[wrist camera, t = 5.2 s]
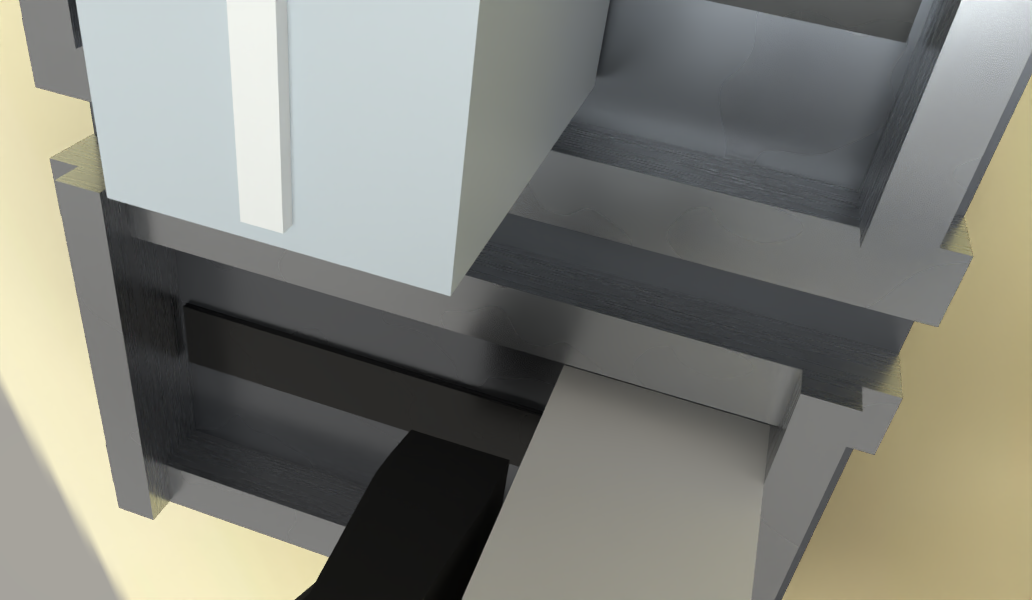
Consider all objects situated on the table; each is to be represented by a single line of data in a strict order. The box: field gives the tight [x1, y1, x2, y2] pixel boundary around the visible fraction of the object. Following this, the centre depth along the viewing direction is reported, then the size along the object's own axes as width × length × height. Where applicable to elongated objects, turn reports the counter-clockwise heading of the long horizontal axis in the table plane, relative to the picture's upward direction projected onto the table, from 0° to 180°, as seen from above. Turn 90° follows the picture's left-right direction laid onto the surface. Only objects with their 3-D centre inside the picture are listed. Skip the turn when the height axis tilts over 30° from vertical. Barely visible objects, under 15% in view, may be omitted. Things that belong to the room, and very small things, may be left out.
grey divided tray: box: [19, 0, 1032, 600], centre depth 10 cm, size 10×13×3 cm
